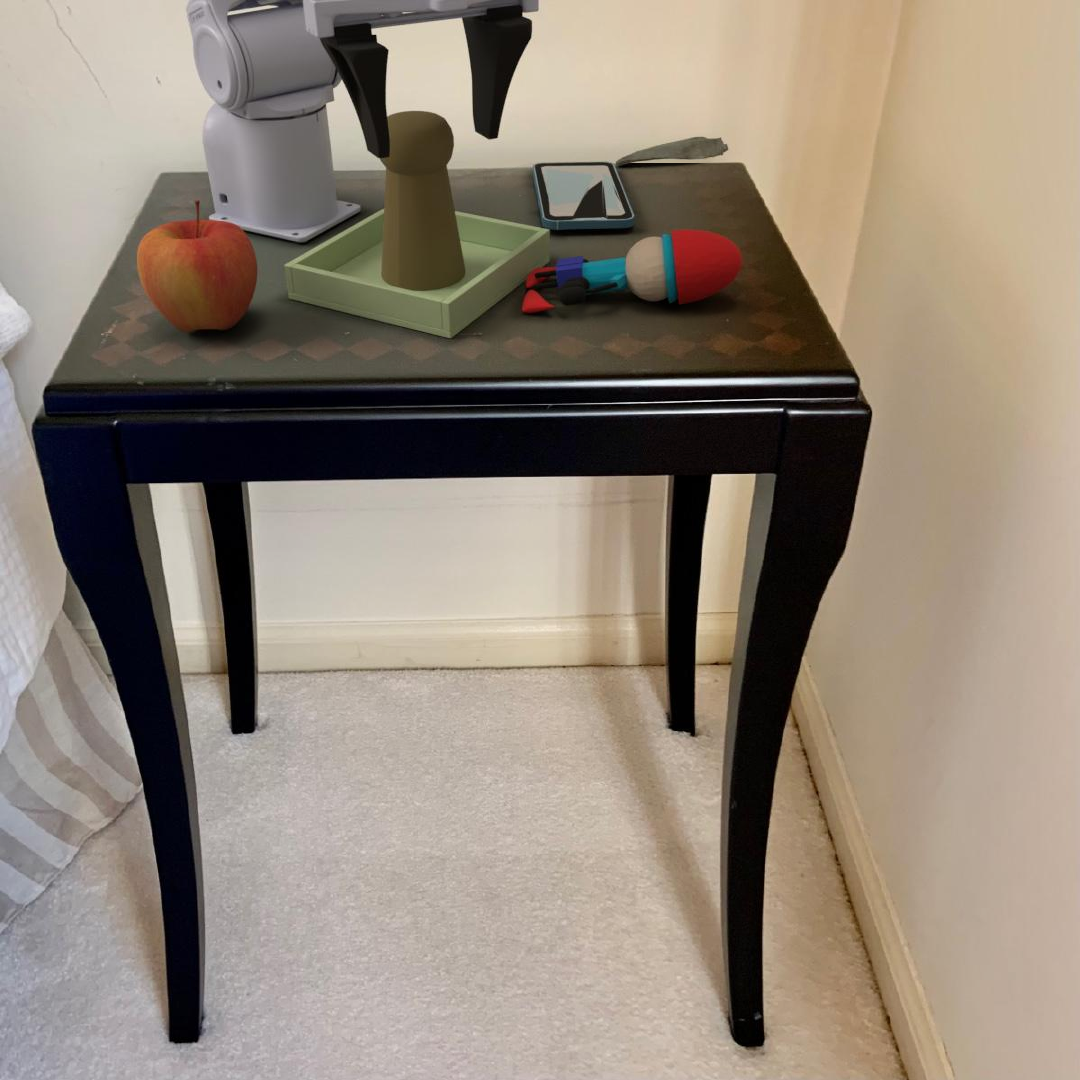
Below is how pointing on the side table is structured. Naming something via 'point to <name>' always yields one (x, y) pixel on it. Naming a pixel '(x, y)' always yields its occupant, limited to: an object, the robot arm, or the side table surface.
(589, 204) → the smartphone
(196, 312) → the apple
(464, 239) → the spice tray
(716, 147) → the stone
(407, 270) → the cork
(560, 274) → the toy figure
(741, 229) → the side table surface
